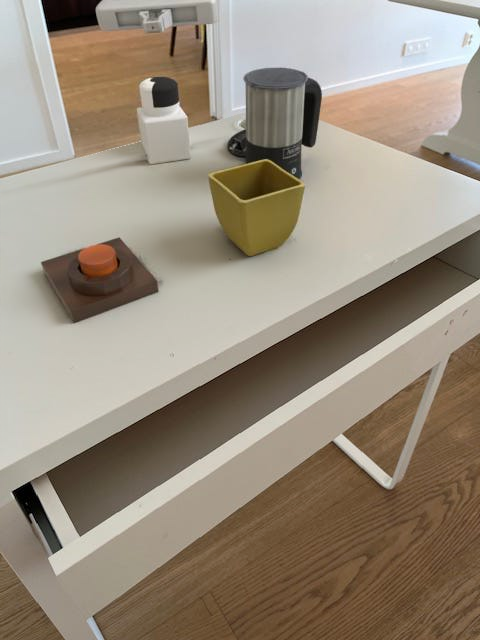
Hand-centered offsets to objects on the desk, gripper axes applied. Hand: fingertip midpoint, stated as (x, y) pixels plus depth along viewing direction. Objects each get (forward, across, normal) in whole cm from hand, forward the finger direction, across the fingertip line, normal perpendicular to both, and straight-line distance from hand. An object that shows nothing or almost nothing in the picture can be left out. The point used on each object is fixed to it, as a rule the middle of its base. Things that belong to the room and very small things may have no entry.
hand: (152, 27), depth 81 cm
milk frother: (+14, +16, +17) cm, 27 cm away
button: (+46, -2, +8) cm, 47 cm away
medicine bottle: (+9, 0, +17) cm, 19 cm away
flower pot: (+37, +15, +14) cm, 42 cm away
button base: (+45, -3, +11) cm, 47 cm away
